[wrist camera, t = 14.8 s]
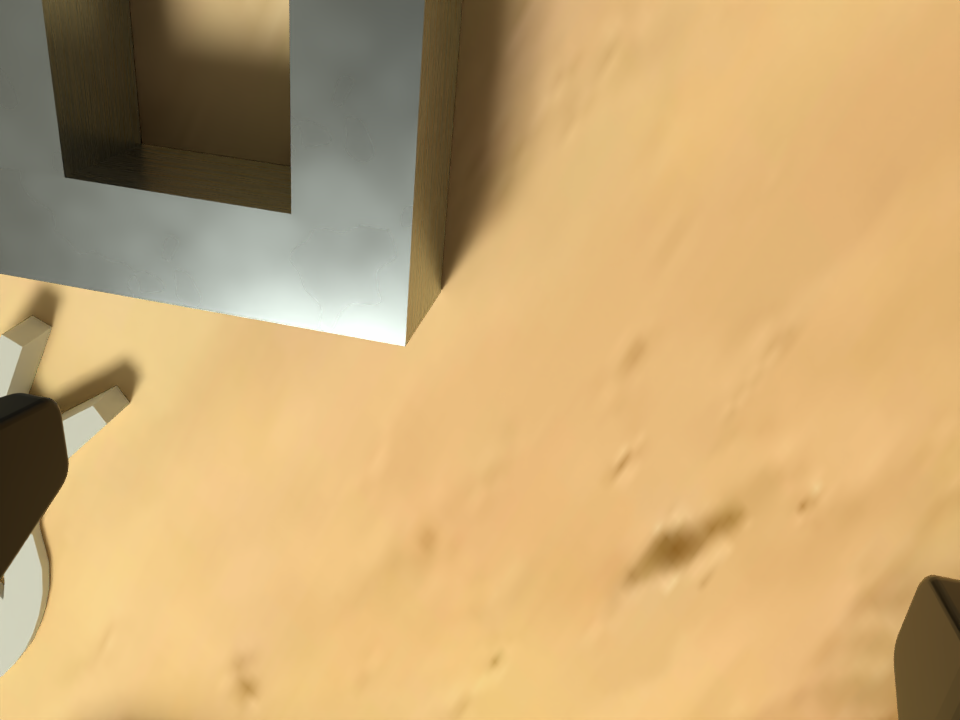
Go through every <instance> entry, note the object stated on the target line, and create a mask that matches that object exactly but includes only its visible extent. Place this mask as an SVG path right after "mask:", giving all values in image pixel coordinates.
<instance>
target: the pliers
mask: <svg viewBox="0 0 960 720" xmlns="http://www.w3.org/2000/svg"><path fill="white" fill-rule="evenodd" d="M51 329H52V327H51V326H49V325H48V324H46V323H44V322H43V321H41V320H39V319H38V318H36V317H34V316H33V315H32V316H31V317H29V318H28V319H26V320H24V321H23V322H21V323H20V324H18V325H16V326H15V327H13V328H12V329H10V330H9V331H7V332H5V333H4V334H2V335H1V337H0V397H3V396H6V395H10V394H14V393H26V394H29V392H30V389H31V386H32V383H33V381H34V378H35V375H36V372H37V369H38V366H39V363H40V360H41V358H42V355H43V352H44V349H45V346H46V343H47V340H48V337H49V334H50V332H51ZM128 404H130V402H129V401H128V400H127V398H126V397H125V396H124V394H123V393H122V392H121V390H120V389H119V388H118V386H115V387H113V388H111V389H109V390H107V391H105V392H103V393H101V394H99V395H97V396H95V397H93V398H91V399H90V400H88V401H86V402H84V403H82V404H80V405H78V406H76V407H74V408H72V409H70V410H68V411H66V412H64V413H62V420H63V427H64V434H65V440H66V447H67V454H68V459H69V458H70V457H71V456H72V455H73V454H74V453H75V452H76V451H77V450H78V449H80V448H81V447H82V446H83V445H84V444H85V443H86V442H87V441H88V440H90V439H91V438H92V437H93V436H94V435H95V434H96V433H97V432H98V431H100V430H101V429H102V428H103V427H104V426H105V425H106V424H107V423H108V422H110V421H111V420H112V419H113V418H114V417H115V416H116V415H117V414H118V413H120V412H121V411H122V410H123V409H124V408H125V407H126V406H127V405H128ZM4 580H5V584H4V585H3V584H2V583H1V581H0V677H1V676H3V675H4V674H5V673H6V672H7V671H8V670H9V669H10V668H11V667H12V666H13V665H14V664H15V663H16V661H17V660H18V659H19V658H20V657H21V656H22V655H23V653H24V652H25V651H26V649H27V648H28V646H29V645H30V644H31V642H32V641H33V639H34V637H35V635H36V632H37V630H38V628H39V626H40V624H41V621H42V618H43V615H44V612H45V608H46V604H47V598H48V592H49V586H50V585H49V560H48V556H47V553H46V549H45V545H44V541H43V537H42V534H41V530H40V521H39V522H38V524H37V525H36V527H35V528H34V530H33V531H32V533H31V534H30V536H29V537H28V539H27V540H26V542H25V543H24V545H23V547H22V548H21V550H20V551H19V553H18V554H17V556H16V557H15V559H14V560H13V562H12V563H11V565H10V566H9V568H8V569H7V571H6V572H5V574H4Z"/></svg>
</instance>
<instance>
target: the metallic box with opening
mask: <svg viewBox="0 0 960 720" xmlns="http://www.w3.org/2000/svg"><path fill="white" fill-rule="evenodd" d="M289 13H290V122H291V166H285V165H278V164H271V163H265V162H258V161H252V160H245V159H239V158H232V157H226V156H219V155H213V154H206V153H199V152H193V151H186V150H180V149H173V148H167V147H160V146H154V145H147V144H142V143H141V132H140V120H139V109H138V97H137V86H136V74H135V63H134V51H133V40H132V28H131V17H130V5H129V0H0V274H5V275H11V276H17V277H22V278H28V279H33V280H39V281H44V282H50V283H56V284H61V285H67V286H72V287H78V288H83V289H89V290H94V291H100V292H106V293H111V294H117V295H122V296H128V297H133V298H139V299H145V300H150V301H156V302H161V303H167V304H172V305H178V306H184V307H189V308H195V309H200V310H206V311H211V312H217V313H223V314H228V315H234V316H239V317H245V318H250V319H256V320H261V321H267V322H273V323H278V324H284V325H289V326H295V327H300V328H306V329H312V330H317V331H323V332H328V333H334V334H339V335H345V336H351V337H356V338H362V339H367V340H373V341H378V342H384V343H389V344H395V345H401V346H406V344H407V343H408V341H409V340H410V338H411V337H412V335H413V334H414V332H415V331H416V329H417V328H418V326H419V325H420V323H421V321H422V320H423V318H424V317H425V315H426V314H427V312H428V311H429V309H430V308H431V306H432V305H433V303H434V302H435V300H436V298H437V297H438V295H439V294H440V292H441V281H442V267H443V254H444V241H445V227H446V214H447V200H448V187H449V174H450V160H451V147H452V133H453V120H454V107H455V93H456V80H457V67H458V53H459V40H460V26H461V13H462V0H289Z"/></svg>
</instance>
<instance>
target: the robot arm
mask: <svg viewBox="0 0 960 720" xmlns="http://www.w3.org/2000/svg"><path fill="white" fill-rule="evenodd" d="M68 465H69V461H68V454H67V447H66V440H65V434H64V427H63V420H62V414H61V410H60V407H59V406H58V404H57V403H56V402H55V401H54V400H52V399H50V398H46V397H41V396H36V395H31V394H26V393H14V394H10V395H6V396H3V397H0V580H1V578H2V577H3V575H4V574H5V572H6V571H7V569H8V568H9V566H10V565H11V563H12V562H13V560H14V559H15V557H16V556H17V554H18V553H19V551H20V550H21V548H22V547H23V545H24V543H25V542H26V540H27V539H28V537H29V536H30V534H31V533H32V531H33V530H34V528H35V527H36V525H37V524H38V522H39V521H40V519H41V518H42V516H43V515H44V513H45V512H46V510H47V508H48V507H49V505H50V504H51V502H52V501H53V499H54V498H55V496H56V495H57V493H58V492H59V490H60V489H61V487H62V485H63V483H64V481H65V479H66V477H67V472H68ZM894 672H895V684H896V697H897V709H898V720H960V580H956V579H951V578H946V577H941V576H936V575H930V576H928V577H925V578H924V579H923V580H922V581H921V583H920V584H919V586H918V588H917V590H916V593H915V595H914V598H913V600H912V603H911V605H910V607H909V610H908V612H907V615H906V617H905V620H904V622H903V624H902V627H901V629H900V632H899V634H898V637H897V640H896V644H895V650H894Z"/></svg>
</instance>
